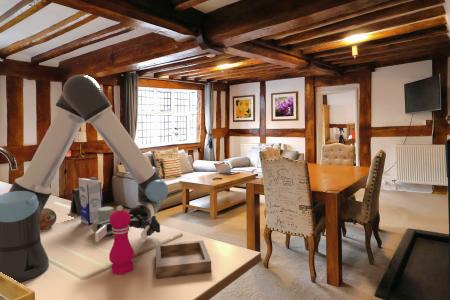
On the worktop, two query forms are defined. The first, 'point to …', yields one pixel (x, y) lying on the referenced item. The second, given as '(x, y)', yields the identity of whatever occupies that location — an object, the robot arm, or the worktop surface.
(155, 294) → the worktop surface
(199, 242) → the walnut tray
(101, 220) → the air freshener
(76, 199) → the door stopper
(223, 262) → the worktop surface
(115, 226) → the pepper mill
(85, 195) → the milk carton
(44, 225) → the tin
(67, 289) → the worktop surface
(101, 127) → the robot arm
